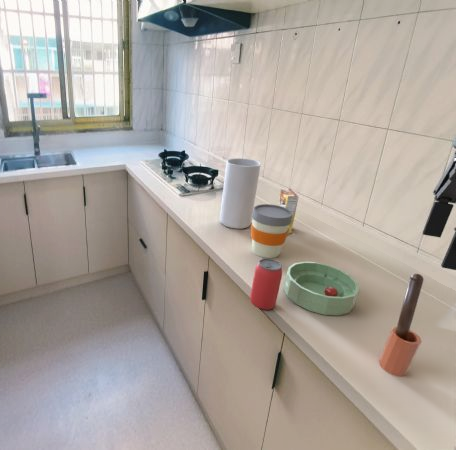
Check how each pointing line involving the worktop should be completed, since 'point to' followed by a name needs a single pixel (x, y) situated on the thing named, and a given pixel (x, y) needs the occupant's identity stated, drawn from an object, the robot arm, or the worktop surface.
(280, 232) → the reusable coffee cup
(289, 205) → the candy box
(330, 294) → the bead
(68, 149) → the worktop surface
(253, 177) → the cylinder vase
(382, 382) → the worktop surface
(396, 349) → the crock
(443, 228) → the robot arm
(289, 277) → the bowl
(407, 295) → the stirring stick
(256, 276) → the beer can
